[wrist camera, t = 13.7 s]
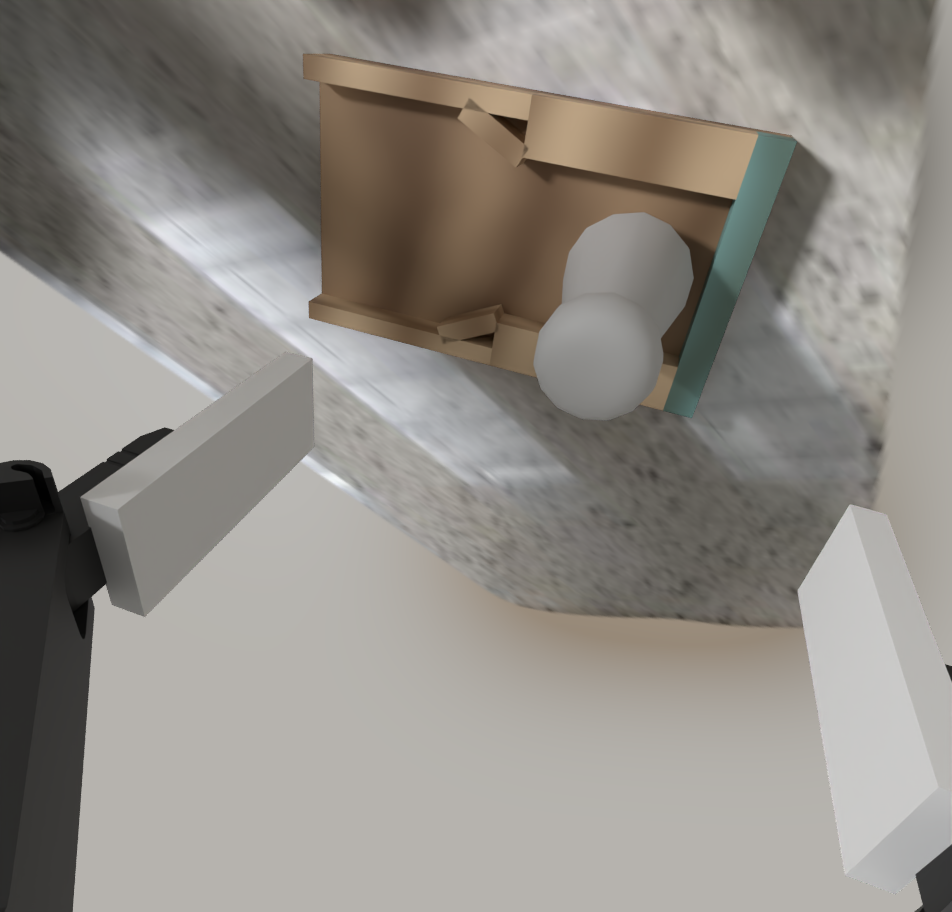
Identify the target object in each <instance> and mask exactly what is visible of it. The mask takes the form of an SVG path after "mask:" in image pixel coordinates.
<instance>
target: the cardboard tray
mask: <svg viewBox="0 0 952 912" xmlns="http://www.w3.org/2000/svg"><path fill="white" fill-rule="evenodd" d="M303 74H304V79H307V80H313V81H318V82H320V164H321V258H322V294H320V295H319V296H317V297H315V298H314V299H312V300H310V301H309V318H311V319H315V320H319V321H322V322H326V323H330V324H334V325H338V326H341V327H345V328H349V329H353V330H357V331H361V332H364V333H368V334H372V335H376V336H380V337H384V338H387V339H391V340H395V341H399V342H403V343H406V344H410V345H414V346H418V347H422V348H426V349H429V350H433V351H437V352H441V353H445V354H448V355H452V356H456V357H460V358H464V359H468V360H471V361H475V362H479V363H483V364H487V365H490V366H494V367H498V368H502V369H506V370H510V371H513V372H517V373H521V374H525V375H529V376H532V377H536V378H537V375H536V372H535V369H534V365H533V362H534V356H535V351H536V346H537V341H538V336H539V331H540V330H541V329H542V327H543V326H544V325H545V323H546V322H547V321H548V319H549V318H550V317H551V315H552V314H553V313H554V311H555V310H556V309H557V308H558V307H559V306H560V305H561V304H562V289H563V277H564V273H565V268H566V264H567V259H568V255H569V252H570V250H571V249H572V247H573V246H574V244H575V243H576V242H577V240H578V239H579V237H580V236H581V235H582V233H583V232H584V230H585V229H586V228H587V227H589V226H591V225H593V224H595V223H597V222H599V221H601V220H603V219H605V218H607V217H609V216H611V215H613V214H624V213H639V212H645V213H647V214H649V215H651V216H653V217H655V218H657V219H659V220H661V221H663V222H666V223H668V224H670V225H671V226H672V227H673V229H674V230H675V231H676V233H677V234H678V235H679V236H680V238H681V239H682V240H683V241H684V243H685V244H686V245H687V246H688V248H689V250H690V257H691V263H692V270H693V277H694V279H693V282H692V285H691V289H690V292H689V295H688V298H687V302H686V305H685V307H684V308H683V310H682V311H681V312H680V314H679V315H678V316H677V318H676V319H675V320H674V322H673V323H672V324H671V326H670V327H669V328H668V330H667V331H666V332H665V334H664V335H663V336H662V338H661V343H662V349H663V363H662V366H661V369H660V373H659V376H658V379H657V383H656V386H655V388H654V389H653V391H652V392H651V394H650V395H649V396H648V397H647V398H646V399H644V400H643V401H642V402H641V403H640V404H639V405H643V406H647V407H651V408H655V409H659V410H662V411H666V412H670V413H674V414H678V415H681V416H685V417H689V418H692V417H693V414H694V411H695V409H696V406H697V403H698V401H699V398H700V396H701V393H702V390H703V388H704V385H705V382H706V380H707V377H708V375H709V372H710V369H711V367H712V364H713V361H714V359H715V356H716V354H717V351H718V348H719V346H720V343H721V340H722V338H723V335H724V333H725V330H726V327H727V325H728V322H729V319H730V317H731V314H732V312H733V309H734V306H735V304H736V301H737V298H738V296H739V293H740V290H741V288H742V285H743V283H744V280H745V277H746V275H747V272H748V269H749V267H750V264H751V262H752V259H753V256H754V254H755V251H756V248H757V246H758V243H759V241H760V238H761V235H762V233H763V230H764V227H765V225H766V222H767V220H768V217H769V214H770V212H771V209H772V206H773V204H774V201H775V199H776V196H777V193H778V191H779V188H780V185H781V183H782V180H783V178H784V175H785V172H786V170H787V167H788V164H789V162H790V159H791V157H792V154H793V151H794V149H795V146H796V143H797V141H796V140H795V139H794V138H793V137H792V136H791V135H786V134H780V133H775V132H769V131H763V130H758V129H752V128H746V127H741V126H735V125H729V124H724V123H718V122H712V121H707V120H701V119H695V118H690V117H684V116H678V115H673V114H667V113H661V112H656V111H650V110H644V109H639V108H633V107H627V106H622V105H616V104H611V103H605V102H599V101H594V100H588V99H582V98H577V97H571V96H565V95H560V94H554V93H548V92H543V91H537V90H531V89H526V88H520V87H514V86H509V85H503V84H497V83H492V82H486V81H480V80H475V79H469V78H463V77H458V76H452V75H446V74H441V73H435V72H429V71H424V70H418V69H412V68H407V67H401V66H395V65H390V64H384V63H379V62H373V61H367V60H362V59H356V58H350V57H345V56H339V55H333V54H303Z"/></svg>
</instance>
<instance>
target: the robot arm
mask: <svg viewBox="0 0 952 912" xmlns="http://www.w3.org/2000/svg"><path fill="white" fill-rule="evenodd" d="M313 448H314V406H313V360H312V358H308V357H305V356H301V355H297V354H294V353H290V352H284V353H283V354H281V355H280V356H279V357H277V358H276V359H274V360H273V361H271V362H270V363H269V364H267V365H266V366H264V367H263V368H262V369H260V370H259V371H257V372H256V373H255V374H253V375H252V376H250V377H249V378H248V379H246V380H245V381H243V382H242V383H240V384H239V385H238V386H236V387H235V388H233V389H232V390H231V391H229V392H228V393H226V394H225V395H224V396H222V397H221V398H219V399H218V400H216V401H215V402H214V403H212V404H211V405H210V406H208V407H207V408H205V409H204V410H202V411H201V412H200V413H198V414H197V415H195V416H194V417H193V418H191V419H190V420H188V421H187V422H185V423H184V424H183V425H181V426H180V427H179V428H177V429H176V430H172V429H168V428H162V429H159V430H156V431H154V432H151V433H149V434H145V435H143V436H140V437H139V438H137V439H136V440H135V441H133V442H131V443H130V444H128V445H127V446H126V447H124V448H123V449H122V451H121V452H117V453H115V454H114V455H112V456H111V457H109V458H108V459H107V461H106V462H102V463H100V464H99V465H97V466H96V467H95V468H93V469H91V470H90V471H89V472H87V473H86V474H84V475H83V476H81V477H80V478H78V479H77V480H75V481H74V482H72V483H71V484H69V485H68V486H66V487H65V488H64V489H62V490H60V491H59V492H58V491H57V488H56V485H55V482H54V478H53V476H52V472H51V469H50V468H48V467H47V466H46V465H44V464H43V463H39V462H35V461H31V460H15V461H14V460H13V461H8V462H3V463H0V912H73V897H74V884H75V871H76V856H77V843H78V829H79V815H80V802H81V787H82V773H83V760H84V745H85V733H86V719H87V705H88V691H89V677H90V663H91V650H92V636H93V623H94V605H93V601H92V598H91V597H92V596H93V595H94V594H95V593H96V592H97V591H98V590H99V589H101V588H102V587H103V586H104V585H105V584H106V586H107V590H108V593H109V597H110V600H111V603H112V605H114V606H117V607H119V608H122V609H125V610H127V611H130V612H133V613H136V614H138V615H141V616H144V617H145V616H146V615H147V614H148V613H149V612H150V611H151V610H152V609H153V608H154V607H155V606H156V605H157V604H158V603H159V602H160V601H161V600H162V599H163V598H164V597H165V596H166V595H167V594H168V593H169V592H170V591H171V590H172V589H173V588H174V587H175V586H176V585H177V584H178V583H179V582H180V581H181V580H182V579H183V578H184V577H185V576H186V575H187V574H188V573H189V572H190V571H191V570H192V569H193V568H194V567H195V566H196V565H197V564H198V563H199V562H200V561H201V560H202V559H203V558H204V557H205V556H206V555H207V554H208V553H209V552H210V551H211V550H212V549H213V548H214V547H215V546H216V545H217V544H218V543H219V542H220V541H221V540H222V539H223V538H224V537H225V536H226V535H227V534H228V533H229V532H230V531H231V530H232V529H233V528H234V527H235V526H236V525H237V524H238V523H239V522H240V521H241V520H242V519H243V518H244V517H245V516H246V515H247V514H248V513H249V512H250V511H251V510H252V509H253V508H254V507H255V506H256V505H257V504H258V503H259V502H260V501H261V500H262V499H263V498H264V497H265V496H266V495H267V494H268V493H269V492H270V491H271V490H272V489H273V488H274V487H275V486H276V485H277V484H278V483H279V482H280V481H281V480H282V479H283V478H284V477H285V476H286V475H287V474H288V473H289V472H290V471H291V470H292V469H293V468H294V467H295V466H296V465H297V464H298V463H299V462H300V461H301V460H302V459H303V458H304V457H305V456H306V455H307V454H308V453H309V452H310V451H311V450H312V449H313ZM798 597H799V603H800V609H801V615H802V621H803V627H804V632H805V638H806V644H807V651H808V657H809V663H810V669H811V675H812V681H813V687H814V693H815V698H816V705H817V711H818V717H819V723H820V729H821V735H822V741H823V747H824V753H825V759H826V765H827V771H828V777H829V783H830V789H831V795H832V801H833V807H834V813H835V819H836V825H837V831H838V837H839V843H840V849H841V855H842V861H843V867H844V874H845V876H847V877H850V878H853V879H856V880H859V881H861V882H864V883H866V884H869V885H872V886H875V887H877V888H880V889H883V890H886V891H888V892H891V893H893V894H897V893H898V892H899V891H900V890H901V889H903V888H904V887H905V886H906V885H908V884H909V883H910V882H911V881H912V880H913V879H915V878H916V879H917V883H918V887H919V891H920V894H921V899H922V902H923V905H922V906H921V907H920V908H919V909H917V910H916V911H915V912H952V666H949V665H946V664H944V661H943V658H942V656H941V653H940V650H939V648H938V645H937V643H936V640H935V638H934V635H933V633H932V630H931V627H930V625H929V622H928V619H927V617H926V615H925V612H924V609H923V607H922V604H921V602H920V599H919V596H918V594H917V591H916V589H915V586H914V583H913V581H912V578H911V575H910V573H909V570H908V568H907V565H906V563H905V560H904V558H903V555H902V552H901V550H900V547H899V545H898V542H897V539H896V537H895V535H894V532H893V529H892V526H891V524H890V521H889V519H888V516H887V514H884V513H881V512H877V511H873V510H870V509H866V508H862V507H859V506H855V505H851V504H850V505H849V506H848V508H847V510H846V511H845V513H844V515H843V516H842V518H841V520H840V521H839V523H838V525H837V526H836V528H835V530H834V531H833V533H832V535H831V536H830V538H829V539H828V541H827V543H826V544H825V546H824V548H823V549H822V551H821V553H820V554H819V556H818V558H817V559H816V561H815V563H814V564H813V566H812V568H811V569H810V571H809V573H808V574H807V576H806V578H805V579H804V581H803V582H802V584H801V586H800V587H799V589H798Z"/></svg>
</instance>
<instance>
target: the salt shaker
mask: <svg viewBox="0 0 952 912" xmlns="http://www.w3.org/2000/svg"><path fill="white" fill-rule="evenodd" d="M693 279H694V277H693V270H692V263H691V257H690V250H689V248H688V246H687V245H686V244H685V243H684V241H683V240H682V239H681V238H680V236H679V235H678V234H677V233H676V231H675V230H674V229H673V227H672V226H671V225H670V224H668V223H666V222H663V221H661V220H659V219H657V218H655V217H653V216H651V215H649V214H647V213H645V212H639V213H624V214H613V215H611V216H609V217H607V218H605V219H603V220H601V221H599V222H597V223H595V224H593V225H591V226H589V227H587V228H586V229H585V230H584V232H583V233H582V235H581V236H580V237H579V239H578V240H577V242H576V243H575V244H574V246H573V247H572V249H571V250H570V252H569V255H568V259H567V264H566V268H565V273H564V277H563V289H562V304H561V305H560V306H559V307H558V308H557V309H556V310H555V311H554V313H553V314H552V315H551V317H550V318H549V319H548V321H547V322H546V323H545V325H544V326H543V327H542V329H541V330H540V331H539V336H538V341H537V346H536V351H535V356H534V362H533V365H534V369H535V372H536V375H537V378H538V382H539V385H540V388H541V390H542V391H543V392H544V393H545V394H546V395H547V397H548V398H549V399H550V400H551V401H552V402H553V404H554V405H555V406H556V407H557V408H559V409H561V410H563V411H565V412H567V413H569V414H571V415H574V416H576V417H578V418H580V419H589V420H604V421H608V420H611V419H614V418H616V417H619V416H622V415H624V414H627V413H630V412H632V411H633V410H634V409H635V408H636V407H637V406H638V405H639V404H640V403H641V402H642V401H643V400H644V399H646V398H647V397H648V396H649V395H650V394H651V392H652V391H653V389H654V388H655V386H656V383H657V379H658V376H659V373H660V369H661V366H662V363H663V349H662V343H661V338H662V336H663V335H664V334H665V332H666V331H667V330H668V328H669V327H670V326H671V324H672V323H673V322H674V320H675V319H676V318H677V316H678V315H679V314H680V312H681V311H682V310H683V308H684V307H685V305H686V302H687V298H688V295H689V292H690V289H691V285H692V282H693Z"/></svg>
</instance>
